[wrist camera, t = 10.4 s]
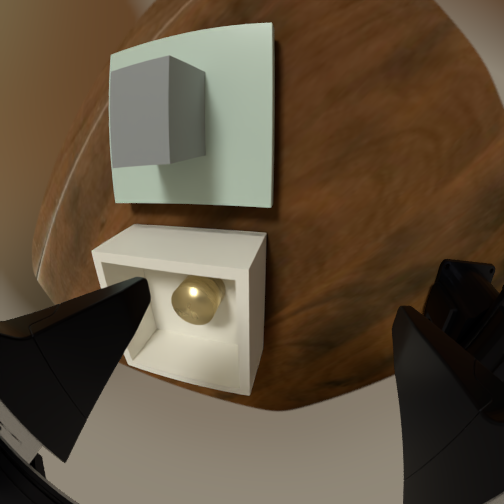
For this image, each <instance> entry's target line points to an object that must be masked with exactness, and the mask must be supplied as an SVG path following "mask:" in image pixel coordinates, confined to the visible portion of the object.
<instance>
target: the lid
mask: <svg viewBox="0 0 504 504" xmlns="http://www.w3.org/2000/svg"><path fill="white" fill-rule="evenodd" d="M274 117H275V58H274V26H273V24H272V23H256V24H243V25H233V26H225V27H218V28H211V29H205V30H199V31H194V32H189V33H184V34H179V35H175V36H171V37H167V38H163V39H159V40H155V41H152V42H148V43H145V44H141V45H138V46H135V47H132V48H129V49H126V50H123V51H120V52H118V53H115V54H112V55H111V61H110V79H109V134H110V153H111V166H112V177H113V187H114V195H115V203H173V204H206V205H230V206H249V207H265V208H271V207H272V205H273V186H274Z"/></svg>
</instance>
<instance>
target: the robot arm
mask: <svg viewBox="0 0 504 504" xmlns="http://www.w3.org/2000/svg"><path fill="white" fill-rule="evenodd" d="M446 264H448V266H447V267H445V265H446ZM490 269H491V271H490ZM494 273H495V267H494V266H493V265H492V264H487V263H478V262H469V261H460V260H451V259H445V260H443V261H442V263H441V266H440V269H439V272H438V276H437V279H436V282H435V283H434V285H433V288H432V291H431V294H430V297H429V300H428V303H427V305H426V311H425V314H424V316H423V315H422V314H421V313H419V312H418V311H417V310H415V309H414V308H413V307H411V306H400V307H399V309H398V311H397V314H396V317H395V320H394V323H393V326H392V338H393V352H394V369H395V376H396V383H397V390H398V398H399V405H400V415H401V426H402V440H403V460H404V480H405V481H404V491H403V504H504V285H503V287H502V288H503V289H502V291H501V292H500V294H499V293H498V291H497V290H496V289H495V288H494V287H493V285H492V284H491V281H492V278H493V275H494ZM150 302H151V294H150V290H149V285H148V281H147V279H146V278H143V277H134V278H131V279H128V280H125V281H122V282H119V283H116V284H113V285H111V286H108V287H105V288H102V289H99V290H96V291H94V292H91V293H88V294H85V295H82V296H79V297H77V298H74V299H71V300H68V301H65V302H63V303H61V304H57V305H54V306H52V307H49V308H46V309H43V310H40V311H37V312H34V313H31V314H27V315H24V316H20V317H17V318H14V319H10V320H6V321H0V504H79V503H77V502H76V501H74V500H73V499H71V498H70V497H69V496H67V495H66V494H65V493H63V492H62V491H61V490H59V489H58V488H57V487H55V486H54V485H53V484H52V483H50V482H49V481H48V480H47V479H46V477H45V471H44V466H43V460H42V457H41V455H39V454H38V451H39V450H40V449H41V447H42V446H43V447H44V448H46V449H47V450H48V451H49V452H51V453H52V454H53V455H54V456H56V457H57V458H59V459H60V460H61V461H62V462H64V463H65V462H66V461H67V459H68V457H69V455H70V453H71V451H72V449H73V447H74V445H75V443H76V441H77V439H78V436H79V434H80V433H81V430H82V429H83V427H84V425H85V423H86V421H87V418H88V416H89V414H90V412H91V411H92V409H93V407H94V405H95V403H96V401H97V400H98V398H99V396H100V394H101V392H102V390H103V389H104V386H105V385H106V383H107V381H108V380H109V378H110V376H111V374H112V373H113V371H114V369H115V367H116V366H117V364H118V362H119V360H120V359H121V357H122V355H123V354H124V352H125V350H126V348H127V347H128V345H129V343H130V342H131V340H132V338H133V337H134V335H135V333H136V331H137V329H138V327H139V325H140V323H141V321H142V319H143V317H144V315H145V312H146V310H147V308H148V306H149V304H150Z"/></svg>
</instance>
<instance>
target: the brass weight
mask: <svg viewBox="0 0 504 504" xmlns="http://www.w3.org/2000/svg"><path fill="white" fill-rule="evenodd" d="M225 292H226V289H225V284H224V282H223V280H222V279H221V278H213V277H205V276H197V275H189V274H188V276H187V277H186V278H185V279H184V280H183V282H182V283H181V284H180V285H179V286H178V288H177V289H176V290H175V291H174V292H173V294H172V297H171V303H172V306H173V309H174V311H175V312H176V313H177V315H178V316H179V317H180V318H182V319H183V320H184V321H186V322H188V323H191V324H194V325H204V324H207V323H209V322H210V321H211V320H212V318H213V316H214V314H215V313H216V311H217V309H218V307H219V305H220V304H221V302H222V300H223V298H224V296H225Z"/></svg>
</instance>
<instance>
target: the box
mask: <svg viewBox="0 0 504 504" xmlns="http://www.w3.org/2000/svg"><path fill="white" fill-rule="evenodd" d="M266 234H267V233H263V232H250V231H236V230H222V229H207V228H192V227H176V226H159V225H140V224H134V225H132V226H131V227H129V228H127V229H126V230H124V231H122V232H121V233H119V234H117V235H116V236H114V237H113V238H111V239H109V240H108V241H106V242H105V243H103V244H101V245H100V246H98V247H97V248H95V249H94V250H92V255H93V259H94V263H95V267H96V271H97V275H98V279H99V282H100V286H101V289H102V288H105V287H108V286H111V285H113V284H116V283H119V282H122V281H125V280H128V279H131V278H134V277H143V278H146V279H147V281H148V285H149V290H150V294H151V302H150V304H149V306H148V308H147V310H146V312H145V315H144V317H143V319H142V321H141V323H140V325H139V327H138V329H137V331H136V333H135V335H134V337H133V338H132V340H131V342H130V343H129V345H128V347H127V348H126V350H125V352H124V355H125V358H126V360H127V363H128V365H131V366H134V367H137V368H140V369H143V370H146V371H149V372H152V373H155V374H159V375H162V376H165V377H169V378H172V379H176V380H180V381H183V382H187V383H191V384H195V385H199V386H203V387H208V388H212V389H217V390H221V391H226V392H231V393H236V394H242V395H247V396H250V393H251V390H252V387H253V383H254V380H255V376H256V373H257V369H258V366H259V362H260V358H261V355H262V351H263V340H264V311H265V276H266ZM188 274H189V275H197V276H205V277H213V278H221V279H222V280H223V282H224V284H225V289H226V292H225V296H224V298H223V300H222V302H221V304H220V305H219V307H218V309H217V311H216V313H215V314H214V316H213V318H212V320H211V321H210V322H209V323H207V324H204V325H194V324H191V323H188V322H186V321H184V320H183V319H182V318H180V317H179V316H178V315H177V313H176V312H175V311H174V309H173V306H172V303H171V297H172V294H173V292H174V291H175V290H176V289H177V288H178V286H179V285H180V284H181V283H182V282H183V280H184V279H185V278H186V277H187V276H188Z"/></svg>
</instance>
